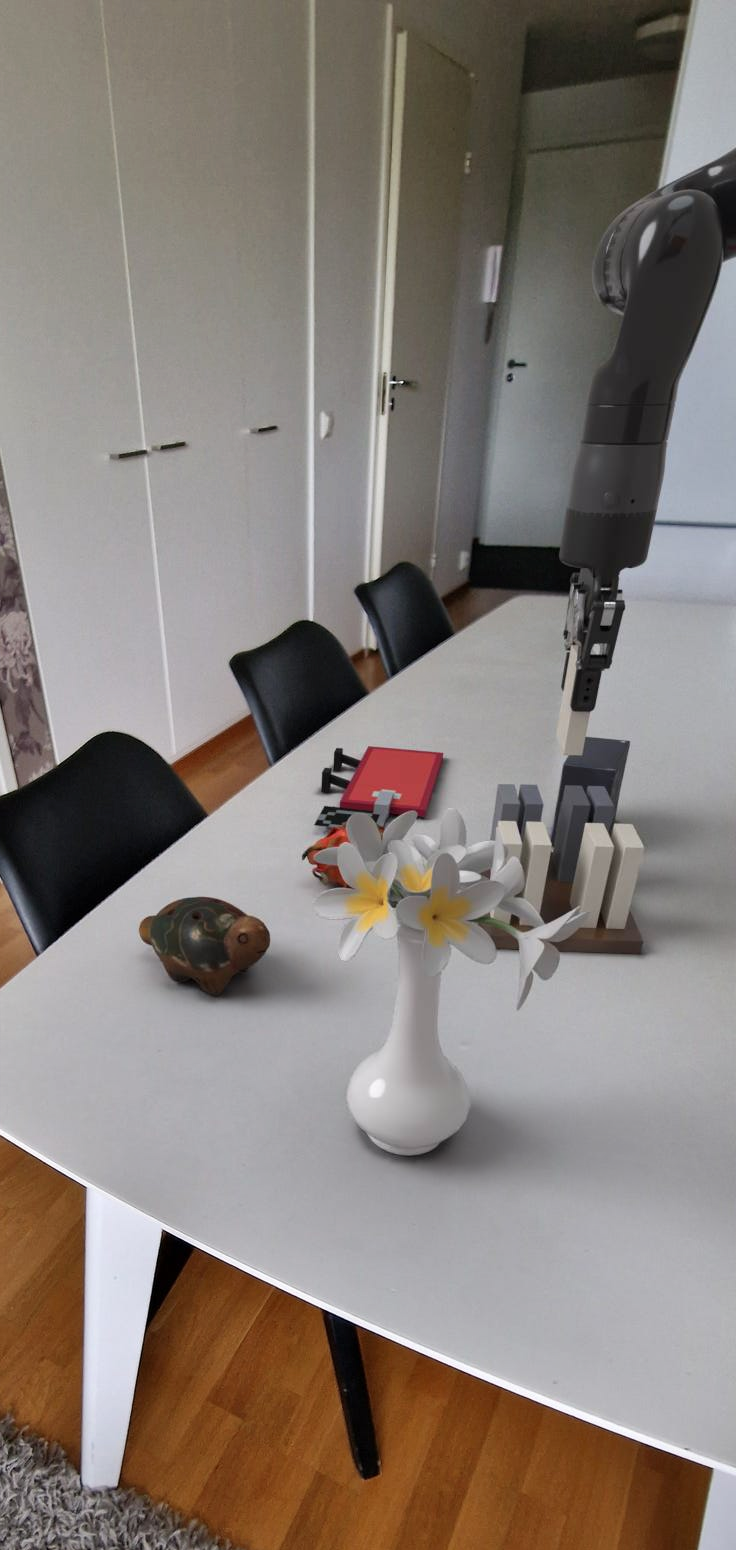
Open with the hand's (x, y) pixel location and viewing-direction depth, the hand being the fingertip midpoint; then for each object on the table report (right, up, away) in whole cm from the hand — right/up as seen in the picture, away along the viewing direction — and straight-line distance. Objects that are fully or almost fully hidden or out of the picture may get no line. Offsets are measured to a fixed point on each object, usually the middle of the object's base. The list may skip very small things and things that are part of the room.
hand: (576, 700), depth 90 cm
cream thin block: (0, -4, +3) cm, 4 cm away
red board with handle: (-15, 0, +37) cm, 40 cm away
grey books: (+1, -14, +14) cm, 20 cm away
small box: (+10, -8, +26) cm, 28 cm away
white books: (0, -20, +6) cm, 21 cm away
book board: (0, -18, +11) cm, 21 cm away
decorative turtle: (-36, -27, +1) cm, 45 cm away
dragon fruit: (-20, -16, +15) cm, 30 cm away
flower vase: (-19, -40, -18) cm, 48 cm away
